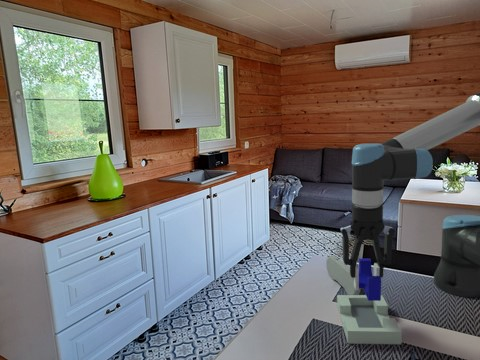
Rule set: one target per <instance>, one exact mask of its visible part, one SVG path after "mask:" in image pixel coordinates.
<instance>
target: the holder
mask: <svg viewBox="0 0 480 360" xmlns="http://www.w3.org/2000/svg"><path fill="white" fill-rule="evenodd" d="M336 295H337V296H336V306H337V309H338V314H339V317H340V320H341V325H342V329H343V331H344V334H345V337H346V342H347V344H356V345H357V344H359V345H360V344H361V345H362V344H363V345H365V344H366V345H368V344H369V345H370V344H371V345H402V337H403V336H402V335H403V332H402V330H401V328H400V326H399V323H398V322H397V320H396V318H394V317H391V318H390V316H389V311H388V310H389V306H388V303H387V302H386V300H385V298H384V296H383V295H382V294H381V301H368V299H367V296H366V294H359V295H348V294H336Z"/></svg>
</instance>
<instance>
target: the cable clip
mask: <svg viewBox="0 0 480 360" xmlns="http://www.w3.org/2000/svg"><path fill="white" fill-rule="evenodd" d="M358 267H359V289H362V290H363V292H364V295H366V296H367V299H368V301H381V295H382V277H380V276H374V275H373V271H372V269H373V267H372V260H371V258H370V257H369V258H363V257H362V258H358ZM353 279H354V278H353Z"/></svg>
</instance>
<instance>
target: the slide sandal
mask: <svg viewBox="0 0 480 360" xmlns="http://www.w3.org/2000/svg"><path fill="white" fill-rule="evenodd" d="M325 265H326V271H327V273H328V276H329V277H330V279H331V280H333V281H336V282H337V283H338V284H339V285H340V286H342V288H343V289H344V290H345V292H346V295H361V294H360V293H361V291H362V290H361V289H359V290H355V287H354V279H353V278H352V277H351V275H350V265H345V264H344V261H343V260H342V259H340V258H339V257H337V256H336V255H334V254H333V255H332V254H331V255H330V256H328V257H327V259H326V264H325Z"/></svg>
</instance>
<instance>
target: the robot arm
mask: <svg viewBox="0 0 480 360" xmlns="http://www.w3.org/2000/svg"><path fill="white" fill-rule="evenodd" d="M479 126H480V91H479V92H476V93H475V94H473V95H470V96H469V97H468V98H467V99H466V101H465V102H464V103H462V104H460V105H458V106H456V107H454V108H452V109H449V110H448V111H446V112H444V113H441V114H439V115H437V116H435V117H433V118H431V119H429V120H428V121H425V122H423V123H421V124H419V125H417V126H415V127H412V128H411V129H409V130H407V131H405V132H402V133H400V134H398V135H396V136H394V137H393V138H391V139H387V140H386V141H384V142H382V143H375V142H374V143H360V144H356V145H355V146H354V147H352V155H351V175H352V176H351V177H352V180H351V181H352V182H351V183H352V184H351V189H352V190H351V203H352V204H351V221H350V223H349V225H348V226H345V227H344V226H340V228H339V229H340V233H341V234H342V262H344V264H345V265H347V266H349V267H350V275H351V277H352V278H354V287H355V290H359V264H358V261H359V255H360V251H361V248H362V244H363V243H364V241H366V240H370V241H371V242H372V246H373V250H374V255H375V260H376V262H374V263H373V276H380V277H381V278H384V268H385V267H386V265H388V266H389V265H391V264H392V256H393V255H392V254H393V252H392V251H393V237H394V235H395V231H396V229H395V228H394V227H392V225H389V226H388V225H385V223H384V221H383V220H384V218H383V217H384V206H383V204H384V185H385V184H384V182H385V181H397V180H398V181H400V180H412V179H413V180H416V179H422V178H426V177H428V176H429V175H430V174H431V173H432V171H433V167H434V166H433V163H434V162H433V161H434V160H433V156H432V154H431V153H430V151H429V150H431V149H433V148H435V147H437V146H438V145H441V144H444V143H445V142H447V141H449V140H452V139H453V138H456V137H458V136H459V135H462V134H464V133H466V132H468V131H469V130H472V129H474V128H476V127H479ZM442 222H443V223H442V228H441V230H442V232H441V257H440V261H439V263H438V265H437V268H436V270H435V272H434V274H433V283H434V285H435V286H436V287H437V288H439V289H440V290H441V291H443V292H446V293H448V294H451V295H455V296H458V297H464V298H480V215H474V214H472V215H471V214H453V215H448V216H446V217H445V218H444V219H443V221H442ZM351 231H352V232H353V233H354V235H355V238H354V243H353V247H352V250H351V255H350V238H349V236H350V235H351ZM382 232H383V233H384V241H383V242H384V244H383V247H384V248H383V254H382V251H381V246H380V241H379V240H380V239H379V235H380V234H381V233H382Z"/></svg>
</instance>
